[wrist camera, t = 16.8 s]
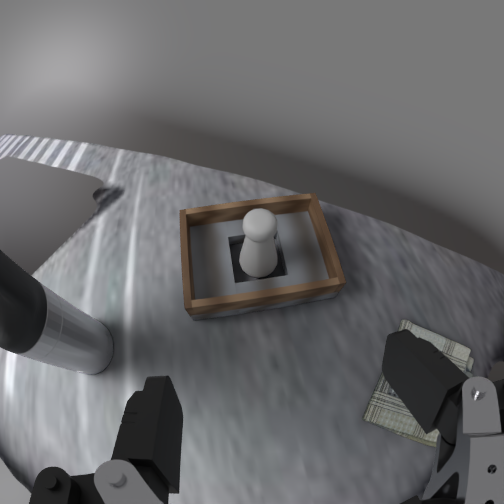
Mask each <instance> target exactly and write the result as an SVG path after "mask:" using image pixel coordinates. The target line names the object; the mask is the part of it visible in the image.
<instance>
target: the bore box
mask: <svg viewBox="0 0 504 504" xmlns="http://www.w3.org/2000/svg"><path fill="white" fill-rule="evenodd" d="M259 208H262V209H266V210H269V211H270V212H272V213H273V214H274V215H275V217H276V219H277V232H276V233H275V235H274V238H276V239H277V243H278V247H279V252H280V256H281V260H282V264H283V268H284V273H285V276H279V277H273V278H266V279H260V280H253V281H247V282H240V283H235V281H234V274H233V268H232V261H231V254H230V247H229V245H231V244H238V243H244V239H245V233H244V231H243V219H244V217H245V216H246V214H247V213H248V212H249V211H251V210H253V209H259ZM180 241H181V263H182V280H183V294H184V307H185V310H186V311H187V312H188V314H189V315H190V317H191V318H192V319H193V320H200V319H208V318H215V317H222V316H230V315H237V314H243V313H250V312H256V311H262V310H269V309H275V308H280V307H286V306H292V305H297V304H303V303H308V302H314V301H319V300H324V299H329V298H334V297H335V296H336V295H337V294H338V293H339V291H340V290H341V289H342V287H343V286H344V285H345V284H346V280H345V277H344V274H343V271H342V267H341V264H340V261H339V258H338V255H337V252H336V249H335V246H334V243H333V240H332V237H331V234H330V232H329V229H328V226H327V223H326V220H325V218H324V215H323V212H322V209H321V207H320V204H319V201H318V199H317V196H316V194H315V193H310V194H300V195H290V196H281V197H272V198H264V199H255V200H247V201H240V202H232V203H225V204H218V205H211V206H204V207H197V208H191V209H184V210H180Z"/></svg>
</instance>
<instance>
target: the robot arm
mask: <svg viewBox="0 0 504 504" xmlns="http://www.w3.org/2000/svg"><path fill="white" fill-rule="evenodd" d="M0 347H1V348H3V349H5V350H7V351H10V352H13V353H16V354H19V355H21V356H24V357H27V358H31V359H34V360H37V361H40V362H43V363H47V364H50V365H54V366H57V367H61V368H64V369H68V370H72V371H76V372H80V373H84V374H91V375H93V374H97V373H99V372H101V371H103V370H104V369H105V368H106V367H107V366H108V364H109V363H110V360H111V358H112V354H113V340H112V337H111V334H110V332H109V330H108V329H107V328H106V327H105V326H104V325H103V324H102V323H100V322H99V321H97V320H95V319H94V318H92V317H91V316H89V315H87V314H86V313H84V312H83V311H81V310H80V309H78V308H76V307H75V306H73V305H72V304H70V303H69V302H67V301H66V300H64V299H63V298H61V297H60V296H58V295H57V294H55V293H54V292H53V291H51V290H50V289H48V288H47V287H45V286H44V285H43V284H41V283H40V282H38V281H37V280H36V279H35V278H33V277H32V276H31V275H29V274H28V273H27V272H26V271H24V270H23V269H22V268H21V267H20V266H18V265H17V264H16V263H15V262H14V261H12V260H11V259H10V258H9V257H8V256H7V255H5V254H4V253H3V252H2V251H1V250H0ZM382 371H383V375H384V378H385V379H386V381H387V382H388V383H389V385H390V386H391V387H392V389H393V390H394V391H395V393H396V394H397V395H398V397H399V398H400V399H401V401H402V402H403V403H404V405H405V406H406V407H407V409H408V410H409V411H410V413H411V414H412V415H413V417H414V418H415V419H416V421H417V422H418V424H419V425H420V426H421V428H422V429H423V430H424V432H425V433H426V435H427V434H428V433H430V432H432V431H434V430H436V429H437V430H438V431H439V434H438V437H437V443H436V451H435V458H434V465H433V471H432V476H431V479H430V482H429V484H428V486H427V488H426V490H425V493H424V495H423V499H422V500H419V498H418V496H417V495H416V496H414V497H412V498H410V499H408V500H406V501H404V502H402V503H400V504H504V379H502V380H500V381H496V382H493V383H492V382H491V381H490V380H488V379H486V378H484V377H472V378H469V377H468V376H467V375H466V374H465V373H464V372H462V371H461V370H460V369H459V368H458V367H457V366H456V365H455V364H454V363H453V362H452V361H451V360H450V359H449V358H447V357H445V355H444V354H443V353H442V352H441V351H439V349H438V348H436V347H435V346H434V345H433V344H432V343H431V342H429V341H427V340H425V339H422V338H420V337H419V338H417V337H416V336H415V335H414V334H413V333H412V332H411V331H409V330H408V329H403V330H400V331H397V332H394V333H391V334H389V335H388V336H387V340H386V346H385V352H384V358H383V363H382ZM121 422H122V424H121V425H120V428H119V432H118V435H117V439H116V443H115V447H114V451H113V455H112V458H111V460H110V461H107V462H105V463H103V464H102V465H100V466H99V467H98V469H97V470H96V472H95V473H92V474H86V475H77V476H70V475H68V474H67V473H66V472H65V471H64V470H63V469H61V468H58V467H48V468H45V469H43V470H42V471H41V472H40V473H39V474H38V476H37V478H36V480H35V484H34V487H33V491H32V494H31V498H30V502H29V504H168V496H169V493H177V494H179V482H180V460H181V443H182V428H183V412H182V407H181V404H180V402H179V399H178V397H177V394H176V392H175V389H174V386H173V384H172V381H171V379H170V377H169V376H153V377H147V379H146V382H145V385H144V389H143V391H135V393H134V394H133V395H132V396H131V397H130V399H129V400H128V401H127V404H126V407H125V411H124V415H123V418H122V421H121Z"/></svg>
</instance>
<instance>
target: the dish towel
mask: <svg viewBox="0 0 504 504" xmlns="http://www.w3.org/2000/svg"><path fill="white" fill-rule="evenodd" d="M403 329H408V330H409V331H411V332H412V333H413V334H414V335H415V336H416V337H417V338H419V337H420V338H422V339H425V340H427V341H429V342H431V343H432V344H433V345H434V346H435V347H436V348H438V349H439V351H441V352H442V353H443V354H444V355H445V357H447V358H449V359H450V360H451V361H452V362H453V363H454V364H455V365H456V366H457V367H458V368H459V369H460V370H461V371H462V372H464V373H465V374H466V375H467V376H468V377H469V378H472V377H473V374H471V373H470V371H471V369H472V364H473V360H474V359H473V358H471V357H469V354H470V351H471V349H469V348H467V347H465V346H463V345H461V344H459V343H457V342H454V341H452V340H449V339H447V338H445V337H443V336H441V335H439V334H436V333H433V332H431V331H429V330H426V329H424V328H422V327H419V326H417V325H415V324H413V323H411V322H410V321H409V320H402V321H401V323H400V327H399V329H398V331H400V330H403ZM362 420H364V421H367V422H369V423H371V424H374V425H376V426H379V427H381V428H384V429H386V430H389V431H391V432H393V433H396V434H398V435H400V436H403V437H406V438H408V439H411V440H414V441H417V442H420V443H423V444H425V445H428V446H434V447H436V443H437V437H438V434H439V431H438V430H437V429H436V430H434V431H432V432H430V433H428V434H427V435H426V433H425V432H424V430H423V429H422V428H421V426H420V425H419V424H418V422H417V421H416V419H415V418H414V417H413V415H412V414H411V413H410V411H409V410H408V409H407V407H406V406H405V405H404V403H403V402H402V401H401V399H400V398H399V397H398V395H397V394H396V393H395V391H394V390H393V389H392V387H391V386H390V385H389V383H388V382H387V381H386V379H385V378H384V375H383V372H382V374H381V377H380V379H379V382H378V384H377V386H376V388H375V390H374V392H373V395H372V397H371V399H370V401H369V403H368V406H367V409H366V411H365V413H364V415H363V418H362Z"/></svg>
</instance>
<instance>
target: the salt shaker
mask: <svg viewBox="0 0 504 504" xmlns="http://www.w3.org/2000/svg"><path fill="white" fill-rule="evenodd" d="M243 231H244V233H245V239H244V243H243V246H242V249H241V252H240V259H239V262H240V265H241V267H242V270H243V271H244V272H245V273H247V274H248V275H249V276H252V277H255V278H260V277H266V276H267V275H269V274H271V273H272V272H273V270H274V269H275V267H276V265H277V252H276V247H275V242H274V235H275V233H276V232H277V219H276V217H275V215H274V214H273V213H272V212H270V211H269V210H266V209H262V208H259V209H253V210H251V211H249V212H248V213H247V214H246V216H245V217H244V219H243Z"/></svg>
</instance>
